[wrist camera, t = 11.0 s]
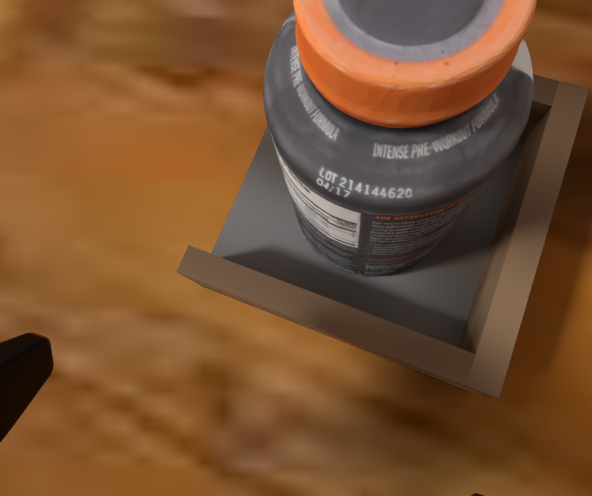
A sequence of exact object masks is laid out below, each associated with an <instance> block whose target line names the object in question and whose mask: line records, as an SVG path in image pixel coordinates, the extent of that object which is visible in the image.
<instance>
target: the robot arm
mask: <svg viewBox="0 0 592 496" xmlns="http://www.w3.org/2000/svg"><path fill="white" fill-rule="evenodd" d="M53 365H54V364H53V357H52V350H51V344H50V340H49V339H48V338H47V337H44V336H42V335H39V334H36V333H26V334H23V335H20V336H17V337H15V338H12V339H9V340H6V341H4V342H1V343H0V442H1V441H2V440H3V439H4V437H5V436H6V435H7V433H8V432H9V431H10V430H11V428H12V427H13V426H14V424H15V423H16V422H17V420H18V419H19V417H20V416H21V415H22V413H23V412H24V411H25V409H26V408H27V406H28V405H29V404H30V402H31V401H32V400H33V398H34V397H35V395H36V394H37V393H38V391H39V390H40V389H41V387H42V386H43V384H44V383H45V382H46V380H47V379H48V378H49V376H50V374H51V372H52V370H53ZM472 496H483V495H481V494H478V493H474V494H472Z"/></svg>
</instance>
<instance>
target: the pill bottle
mask: <svg viewBox="0 0 592 496" xmlns="http://www.w3.org/2000/svg"><path fill="white" fill-rule="evenodd" d="M536 2H537V0H293V3H294V11H293V12H292V14H291V15H290V16H289V17H288V19H287V20H286V22H285V23H284V24H283V26H282V28H281V29H280V31H279V33H278V35H277V36H276V39H275V41H274V43H273V46H272V48H271V50H270V53H269V56H268V59H267V63H266V69H265V74H264V85H263V96H264V106H265V113H266V119H267V122H268V127H269V129H270V131H271V135H272V138H273V142H274V145H275V149H276V152H277V156H278V160H279V163H280V166H281V169H282V172H283V175H284V178H285V181H286V185H287V188H288V191H289V195H290V197H291V200H292V204H293V207H294V210H295V213H296V217H297V220H298V223H299V225H300V228H301V230H302V232H303V235H304V237H305V239H306V240H307V242H308V243H309V245H310V246H311V248H312V249H313V250H314V251H315V252H316V253H317V254H318V255H319V256H320V257H321V258H322V259H323V260H325V261H326V262H327V263H329V264H330V265H332V266H334V267H336V268H338V269H340V270H342V271H345V272H347V273H350V274H354V275H359V276H364V277H379V276H390V275H393V274H396V273H400V272H402V271H405V270H408V269H410V268H412V267H413V266H415V265H417V264H418V263H420V262H421V261H423V260H424V259H425V258H426V257H427V256H429V255H430V254H431V252H432V251H433V250H434V249H435V248H436V247H437V246H438V245H439V244H440V243H441V242H442V240H443V239H444V237H445V236H446V235H447V234H448V232H449V231H450V230H451V228H452V227H453V226H454V225H455V223H456V222H457V221H458V220H459V218H460V217H461V216H462V214H463V213H464V212H465V211H466V209H467V208H468V207H469V206H470V204H471V203H472V202H473V201H474V200H475V198H476V197H477V195H478V194H479V193H480V191H481V190H482V189H483V188H484V186H485V185H486V184H487V183H488V181H489V180H490V179H491V178H492V176H493V175H494V174H495V173H496V171H497V170H498V169H499V168H500V167H501V165H502V164H503V163H504V162H505V160H506V159H507V157H508V156H509V155H510V153H511V152H512V151H513V149H514V147H515V146H516V144H517V142H518V140H519V139H520V137H521V135H522V133H523V131H524V129H525V126H526V124H527V121H528V118H529V114H530V109H531V104H532V99H533V89H534V80H533V72H532V64H531V60H530V55H529V51H528V48H527V45H526V43H525V40H524V35H525V33H526V31H527V29H528V27H529V25H530V23H531V20H532V18H533V15H534V11H535V7H536Z"/></svg>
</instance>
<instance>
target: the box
mask: <svg viewBox="0 0 592 496" xmlns="http://www.w3.org/2000/svg"><path fill="white" fill-rule="evenodd" d="M533 80H534V89H533V99H532V104H531V109H530V114H529V118H528V121H527V124H526V126H525V129H524V131H523V133H522V135H521V137H520V139H519V140H518V142H517V144H516V146H515V147H514V149H513V151H512V152H511V153H510V155H509V156H508V157H507V159H506V160H505V162H504V163H503V164H502V165H501V167H500V168H499V169H498V170H497V171H496V173H495V174H494V175H493V176H492V178H491V179H490V180H489V181H488V183H487V184H486V185H485V186H484V188H483V189H482V190H481V191H480V193H479V194H478V195H477V197H476V198H475V200H474V201H473V202H472V203H471V204H470V206H469V207H468V208H467V209H466V211H465V212H464V213H463V214H462V216H461V217H460V218H459V220H458V221H457V222H456V223H455V225H454V226H453V227H452V228H451V230H450V231H449V232H448V234H447V235H446V236H445V237H444V239H443V240H442V242H441V243H440V244H439V245H438V246H437V247H436V248H435V249H434V250H433V251H432V252H431V254H430V255H429V256H427V257H426V258H425V259H424V260H423V261H421V262H420V263H418V264H417V265H415V266H413V267H412V268H410V269H408V270H405V271H402V272H400V273H396V274H393V275H390V276H379V277H364V276H359V275H354V274H350V273H347V272H345V271H342V270H340V269H338V268H336V267H334V266H332V265H330V264H329V263H327V262H326V261H325V260H323V259H322V258H321V257H320V256H319V255H318V254H317V253H316V252H315V251H314V250H313V249H312V248H311V246H310V245H309V243H308V242H307V240H306V239H305V237H304V235H303V232H302V230H301V228H300V225H299V223H298V220H297V217H296V213H295V210H294V207H293V204H292V200H291V197H290V195H289V191H288V188H287V185H286V181H285V178H284V175H283V172H282V169H281V166H280V163H279V160H278V156H277V152H276V149H275V145H274V142H273V138H272V135H271V131H270V129H269V127H268V126H267V129H266V131H265V133H264V136H263V138H262V140H261V142H260V145H259V147H258V149H257V151H256V154H255V156H254V158H253V161H252V163H251V165H250V167H249V170H248V172H247V174H246V176H245V179H244V181H243V183H242V186H241V188H240V190H239V192H238V195H237V197H236V199H235V201H234V204H233V206H232V208H231V211H230V213H229V215H228V217H227V220H226V222H225V224H224V226H223V229H222V231H221V233H220V235H219V238H218V240H217V242H216V245H215V247H214V249H213V251H212V254H210V253H208V252H205V251H202V250H200V249H197V248H195V247H192V246H188V248H187V250H186V252H185V254H184V257H183V259H182V261H181V263H180V265H179V268H178V270H177V272H178V273H179V274H181V275H183V276H185V277H187V278H188V279H190V280H192V281H194V282H196V283H197V284H199V285H201V286H203V287H206V288H208V289H211V290H213V291H216V292H218V293H221V294H224V295H226V296H229V297H231V298H234V299H236V300H239V301H241V302H244V303H246V304H249V305H251V306H254V307H256V308H259V309H262V310H264V311H267V312H269V313H272V314H274V315H277V316H279V317H282V318H284V319H287V320H289V321H292V322H294V323H297V324H300V325H302V326H305V327H307V328H310V329H312V330H315V331H317V332H320V333H322V334H325V335H327V336H330V337H332V338H335V339H338V340H340V341H343V342H345V343H348V344H350V345H353V346H355V347H358V348H360V349H363V350H365V351H368V352H371V353H373V354H376V355H378V356H381V357H383V358H386V359H388V360H391V361H393V362H396V363H398V364H401V365H403V366H406V367H409V368H411V369H414V370H416V371H419V372H421V373H424V374H426V375H429V376H431V377H434V378H436V379H439V380H441V381H444V382H447V383H449V384H452V385H454V386H457V387H459V388H462V389H464V390H467V391H469V392H472V393H477V394H481V395H485V396H490V397H494V398H499V397H500V394H501V390H502V387H503V384H504V380H505V377H506V373H507V370H508V366H509V363H510V360H511V356H512V353H513V349H514V346H515V342H516V339H517V335H518V332H519V329H520V325H521V322H522V318H523V315H524V311H525V308H526V305H527V301H528V298H529V294H530V291H531V287H532V284H533V281H534V277H535V274H536V270H537V267H538V263H539V260H540V256H541V253H542V250H543V246H544V243H545V239H546V236H547V232H548V229H549V226H550V222H551V219H552V215H553V212H554V208H555V205H556V202H557V198H558V195H559V191H560V188H561V184H562V181H563V177H564V174H565V171H566V167H567V164H568V160H569V157H570V153H571V150H572V147H573V143H574V140H575V136H576V133H577V129H578V126H579V123H580V119H581V116H582V112H583V109H584V105H585V102H586V98H587V95H588V92H589V89H585V88H581V87H578V86H574V85H570V84H566V83H563V82H559V81H555V80H552V79H548V78H544V77H541V76H537V75H533Z"/></svg>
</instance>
